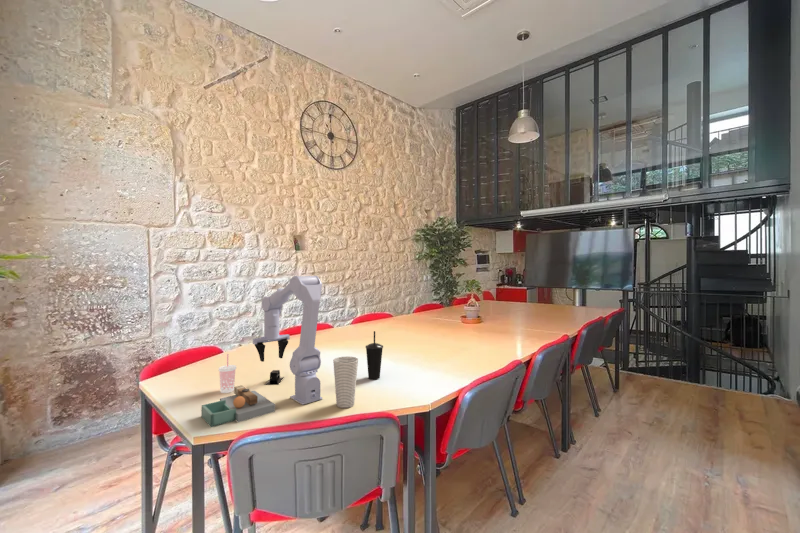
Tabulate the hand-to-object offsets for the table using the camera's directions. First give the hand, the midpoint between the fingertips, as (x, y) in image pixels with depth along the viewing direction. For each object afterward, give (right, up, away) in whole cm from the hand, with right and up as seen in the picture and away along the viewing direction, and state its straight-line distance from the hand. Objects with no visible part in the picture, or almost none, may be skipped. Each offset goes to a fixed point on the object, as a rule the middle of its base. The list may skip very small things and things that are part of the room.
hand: (271, 359), depth 139 cm
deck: (+1, -9, -25) cm, 27 cm away
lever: (0, -7, -24) cm, 25 cm away
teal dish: (-4, -9, -33) cm, 34 cm away
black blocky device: (0, -11, +3) cm, 11 cm away
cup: (+34, -10, -22) cm, 41 cm away
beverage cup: (-14, -10, -9) cm, 19 cm away
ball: (+1, -5, -31) cm, 31 cm away
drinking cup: (+41, -10, +8) cm, 43 cm away
